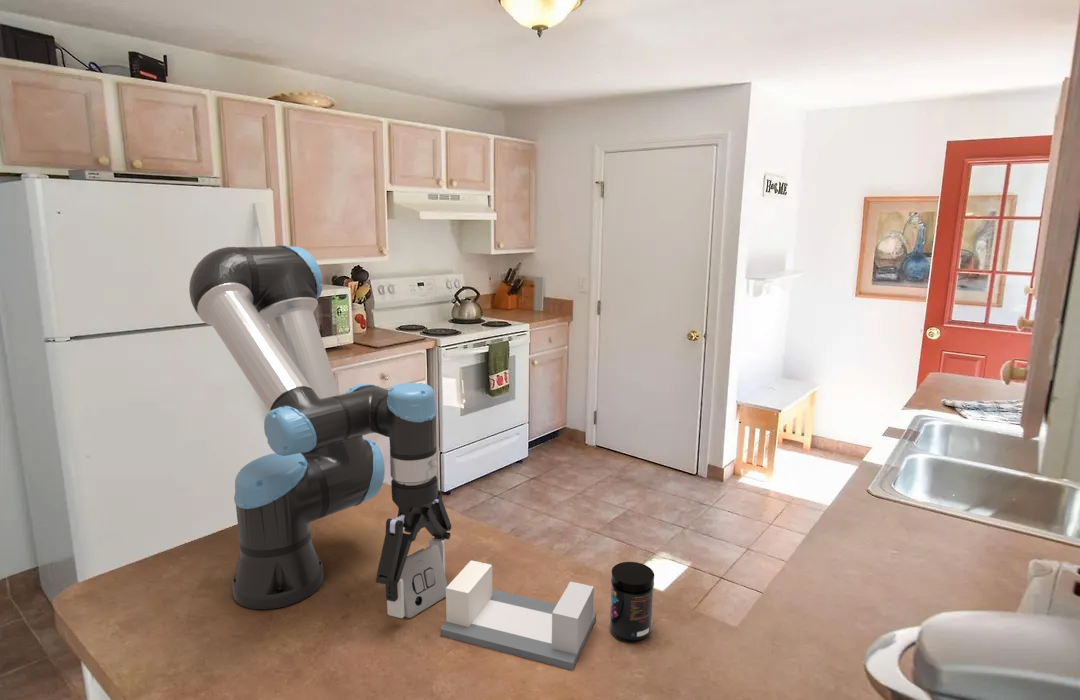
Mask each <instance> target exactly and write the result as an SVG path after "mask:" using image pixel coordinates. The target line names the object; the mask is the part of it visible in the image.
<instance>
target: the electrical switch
mask: <svg viewBox="0 0 1080 700" xmlns="http://www.w3.org/2000/svg"><path fill="white" fill-rule="evenodd" d="M400 579H403V589H404V615H405V616H404V617H405V618H408V619H410V618H413V617H415V616H416V615H418V614H420V613H421V612H423V611H425V610H427V609H428V608H429V607H431V606H432V605H435V604H436V603H438V602H440V601H441V600H442V599H444V598H446V587H447V586H448V582H447V577H446V571H445V572H444V567H443V563H442V558H441V553H440V549H439V546H437V545H431V546H427V547H425V548H421V549H418V550H417V551H415V552H413V553H411V554H408V555H407V558H406V561H405V564H404V567H403V571H402V574H401V577H400Z"/></svg>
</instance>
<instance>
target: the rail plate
mask: <svg viewBox="0 0 1080 700" xmlns="http://www.w3.org/2000/svg"><path fill="white" fill-rule="evenodd" d="M594 593H595V586H592V585H588V584H583V583H579V582H576V581H575V582H574V581H569V583H568V584H567V587H566V588H565V590H564V591H563V593H562V595H561V597H560V598H559V600H558V602H557V603H554V602H551V601H550V602H549V601H545V600H541V599H537V598H532V597H528V596H523V595H520V594H519V595H518V594H515V593H510V592H505V591H501V590H497V589H493V565H492V564H490V563H484V562H482V561H481V562H480V561H475V560H471V559H470V561H469V562H468V563H467V564H466V565H465V566H464V567H463V569H462V570H461V571H460V572H459V573H458V574H457V575H456V576H455V577H454V579H452V581H451V582H449V584H447V587H446V597H445V607H446V608H445V611H446V615H445V617H446V619H445V620H446V621H445V623H444V624H443V625H442V626H441V628H440V637H444V638H449V639H451V640H456V641H459V642H463V643H467V644H471V645H475V646H479V647H483V648H486V649H489V650H494V651H498V652H502V653H505V654H508V655H509V654H510V655H513V656H518V657H521V658H523V659H528V660H531V661H535V662H536V661H537V662H539V663H543V664H547V665H550V666H555V667H559V668H562V669H565V668H566V669H567V670H569V669H570V671H573V670H574V669H575V666H576V663H577V662H578V660H579V657H580V655H581V653H582V650H583V649H584V647H583V646H585V644H586V641H587V640H588V638H589V636H588V635H590V633H591V631H592V630H593V626H594V625H593V624H595V623H596V620H597V612H594V595H595V594H594ZM594 622H595V623H594ZM587 637H588V638H587ZM577 659H578V660H577Z"/></svg>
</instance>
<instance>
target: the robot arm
mask: <svg viewBox="0 0 1080 700" xmlns="http://www.w3.org/2000/svg"><path fill="white" fill-rule="evenodd" d="M322 281H323V275H322V271H321V268H320V266H319V264H318V262H317V261H316V259H315V257H314V256H313V255H312V254H311V253H310V252H309V251H308V250H306V249H304V248H302V247H300V246H291V245H290V246H288V245H284V244H283V245H280V244H279V245H276V246H227V247H226V246H225V247H222V248H218V249H216V250H213V251H211V252H209V253H208V254H206V255H205V256H204V257H202V259H201V260H200V261H199V262H198V264H197V265H195V268H193V272H192V274H191V276H190V279H189V290H188V291H189V292H188V293H189V299H190V303H191V305H192V307H193V309H194V310H195V311H194V312H196V314H197V316H198V317H199V318H200V320H201V321H202V322H203V323H205V324H207V325H209V326H212V327H213V329H214V330H215V331H216V333H217V335H218V336H219V338H220V340H221V341H222V342H223V344H224V345H225V347H226V349H227V350H228V351H229V353H230V354H231V357H232V358H233V359H234V361H235V362H236V364H237V365H238V367H239V368H240V370H241V372H242V373H243V375H244V376H245V377H246V379H247V381H248V382H249V384H250V385H251V387H252V388H253V390H254V391H255V393H256V394H257V396H258V397H259V399H260V400H261V402H262V403H263V405H264V407H265V408H266V410H267V412H268V413H267V414H266V415H265V418H264V424H263V425H264V427H263V429H264V435H265V437H266V438H267V444H268V446H269V448H270V449H271V450H272V452H273V453H269V454H267V455H263V456H261V457H258V458H256V459H253V460H252V461H250V462H248V463H246V464H245V465H244V466H243V467H242V468H240V471H239V472H238V473H237V474H236V476H235V479H234V497H233V501H234V503H235V510H236V519H237V529H238V540H239V552H240V553H239V555H238V560H237V563H236V569H235V574H234V575H233V579H232V582H231V584H232V585H231V589H232V596H233V599H234V601H235V602H236V603H237V604H238V605H239V606H241V607H244V608H247V609H252V610H272V609H273V610H274V609H278V608H279V609H280V608H283V607H288V606H291V605H293V604H297V603H298V602H301V601H303V600H304V599H306V598H309V597H310V596H312V595H313V594H314V593H315V592H317V590H319V588H320V587H321V586H322V584H323V582H324V579H325V577H324V576H325V575H324V564H323V563H322V560H321V559H320V557H319V554H318V552H317V549H316V547H315V545H314V543H313V541H312V536H311V535H312V534H311V523H312V522H315V521H317V520H319V519H322V518H325V517H327V516H330V515H333V514H336V513H338V512H339V513H340V512H341V511H344V510H346V509H349V508H352V507H357V506H359V505H361V504H363V503H365V502H366V501H368V500H371V499H373V498H374V497H376V496H377V495H378V494H379V493H380V491H381V489H382V486H383V484H384V483H383V482H384V480H385V473H386V469H385V460H384V456H383V453H382V450H381V448H380V447H379V446H378V445H376V444H377V443H376V442H375V441H373V439H368V438H364V437H363V436H365V435H369V434H375V433H376V434H378V435H381V436H384V437H386V438H388V439H389V461H390V462H389V464H390V465H389V466H390V477H391V481H390V484H391V488H390V489H391V499H392V502H393V503H394V504H395V505H396V506H397V509H398V512H397V517H395V518H390V517H389V518H387V519H386V521H385V535H384V540H383V544H382V549H381V554H380V559H379V563H378V567H377V572H376V576H375V582H376V583H378V584H380V585H385V599H386V605H387V607H386V608H387V615H388V616H391V617H394V618H395V617H396V618H400V619H403V618H404V617H405V615H404V589H403V579H400V577H401V574H402V571H403V567H404V564H405V561H406V558H407V556H409V552H410V548H411V545H412V543H413V542H414V541H415V540H416V539H417V536H418V533H420V530H422V529H424V528H425V529H426V531H427V532H428V533H429V534H430V535H431V538H429V541H428V542H429V546H431V545H437V546H439V549H440V553H441V558H442V563H443V567H444V572H445V573H446V551H445V549H446V546H445V545H446V542H445V540H450V538H451V532H450V531H451V529H452V524H451V520H450V518H449V515H448V512H447V510H446V506H445V505H444V501H443V496H442V495H443V493H442V492H443V491H442V490H439V489H438V477H437V476H436V475H437V473H438V471H437V470H438V467H437V466H438V465H439V462H438V461H437V410H438V409H437V407H436V395H435V390H434V389H433V387H432V386H430V384H426V383H422V382H421V383H416V382H404V383H398V384H395V385H393V386H391V387H390V388H389V389H388V388H384V387H381V386H379V385H375V384H366V383H359V384H356V385H353V386H352V387H350V388H349V389H348V390H347V391H346V392H345V393H342V394H341V392H340V390H339V387H338V383H337V381H336V378H335V374H334V372H333V369H332V365H331V363H330V360H329V356H328V354H327V351H326V348H325V345H324V342H323V339H322V336H321V333H320V329H319V327H318V324H317V320H316V317H315V315H314V312H315V311H316V308H317V307H318V304H319V302H318V301H319V298H320V297H321V295H322V292H323V287H324V285H323V284H322ZM405 532H406V533H405ZM429 546H428V547H429Z"/></svg>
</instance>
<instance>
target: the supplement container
mask: <svg viewBox="0 0 1080 700" xmlns="http://www.w3.org/2000/svg"><path fill="white" fill-rule="evenodd" d="M610 575H611V576H610V577H611V578H610V582H611V584H610V586H611V587H610V607H609V608H610V609H609V612H610V613H609V629H610V631H611V633H612V636H614V637H615V638H616V639H618V640H619V641H621V642H624V643H628V644H629V643H630V644H638V643H641V642H644V641H646V640H647V639H648V638H649V637H650V635H651V633H652V624H653V623H652V621H653V603H654V588H655V572H654V571H653V569H652V568H651V567H650V566H648V565H646V564H644V563H640V562H637V561H623V562H619V563H617V564H615V565H614V566H613V567H612V568H611V574H610Z"/></svg>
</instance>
